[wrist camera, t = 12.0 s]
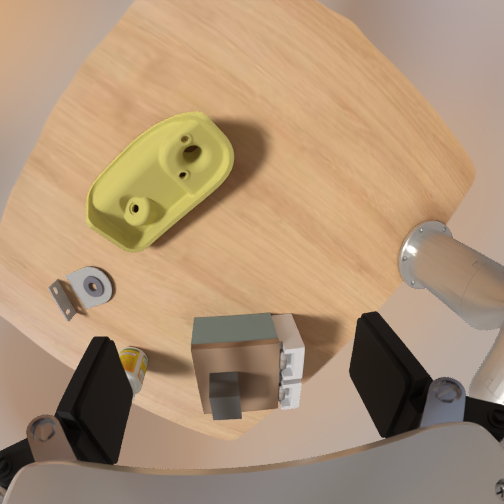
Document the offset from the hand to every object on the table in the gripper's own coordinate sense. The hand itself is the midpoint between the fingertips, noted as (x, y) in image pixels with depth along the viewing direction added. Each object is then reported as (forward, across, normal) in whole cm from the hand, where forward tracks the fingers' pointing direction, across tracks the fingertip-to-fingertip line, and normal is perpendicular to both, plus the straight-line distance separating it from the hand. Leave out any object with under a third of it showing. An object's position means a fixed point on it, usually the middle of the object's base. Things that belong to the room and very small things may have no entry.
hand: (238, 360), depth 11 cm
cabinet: (+32, -1, +25) cm, 41 cm away
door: (+25, 0, +25) cm, 35 cm away
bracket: (+32, +24, +11) cm, 42 cm away
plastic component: (+32, +8, -4) cm, 34 cm away
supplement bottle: (+32, +19, +25) cm, 45 cm away
